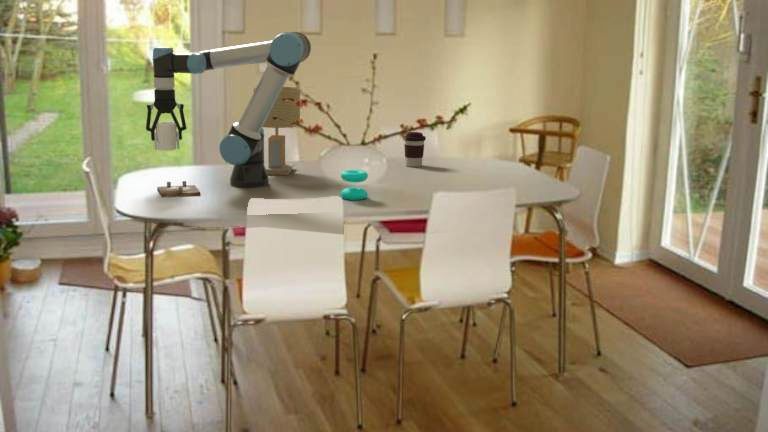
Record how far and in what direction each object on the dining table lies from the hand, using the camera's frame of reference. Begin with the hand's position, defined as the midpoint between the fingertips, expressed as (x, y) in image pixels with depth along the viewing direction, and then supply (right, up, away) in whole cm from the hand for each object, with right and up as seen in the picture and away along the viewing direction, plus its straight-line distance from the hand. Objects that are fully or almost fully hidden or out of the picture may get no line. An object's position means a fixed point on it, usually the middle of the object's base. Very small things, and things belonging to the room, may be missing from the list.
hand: (167, 148), depth 345 cm
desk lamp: (+37, -7, +40) cm, 55 cm away
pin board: (+6, -17, -7) cm, 19 cm away
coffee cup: (+96, -3, +62) cm, 114 cm away
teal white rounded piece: (+72, -19, -9) cm, 75 cm away
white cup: (0, 0, 0) cm, 0 cm away
